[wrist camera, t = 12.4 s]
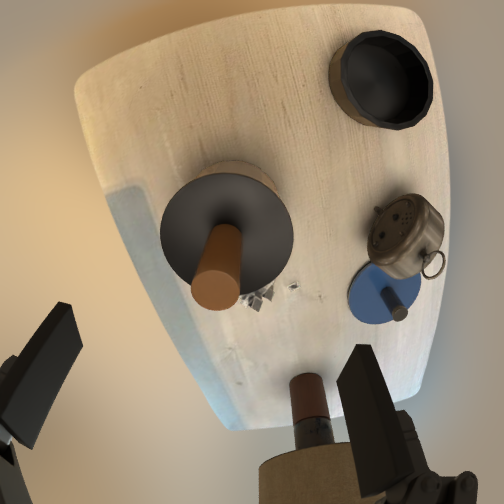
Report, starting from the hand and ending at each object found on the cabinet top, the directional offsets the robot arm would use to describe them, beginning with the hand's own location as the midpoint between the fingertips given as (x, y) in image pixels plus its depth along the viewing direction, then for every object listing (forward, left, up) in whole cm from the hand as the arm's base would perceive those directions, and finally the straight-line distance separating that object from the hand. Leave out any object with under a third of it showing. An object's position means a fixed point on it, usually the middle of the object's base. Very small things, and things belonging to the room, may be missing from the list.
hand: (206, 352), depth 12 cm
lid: (+2, -2, -18) cm, 18 cm away
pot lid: (+24, +16, -28) cm, 40 cm away
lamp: (+42, -3, -29) cm, 51 cm away
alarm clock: (+11, +18, -29) cm, 36 cm away
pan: (-8, +22, -29) cm, 37 cm away
